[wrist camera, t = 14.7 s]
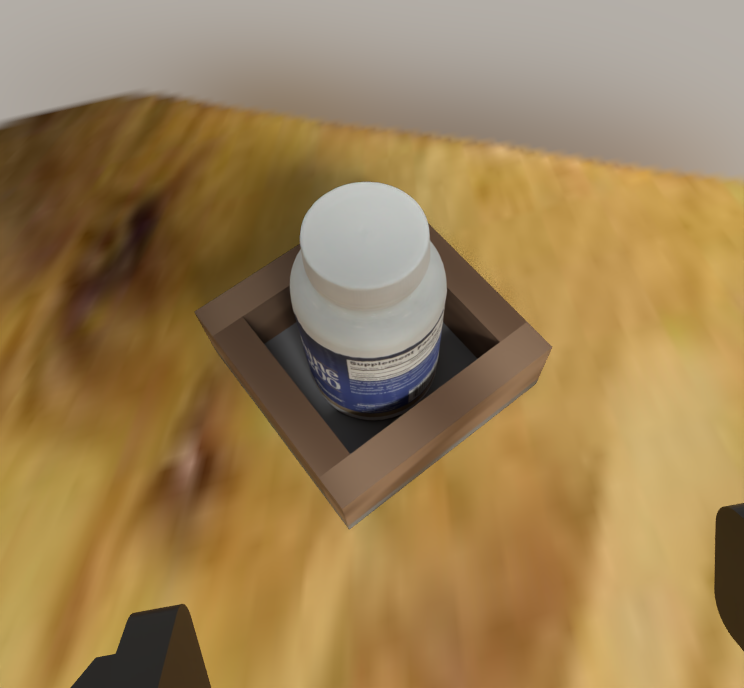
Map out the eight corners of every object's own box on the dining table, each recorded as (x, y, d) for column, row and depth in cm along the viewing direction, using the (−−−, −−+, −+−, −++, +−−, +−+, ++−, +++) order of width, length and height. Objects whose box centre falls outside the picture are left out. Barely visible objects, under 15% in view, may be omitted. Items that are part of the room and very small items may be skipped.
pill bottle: (298, 327, 31) (259, 184, 22) (415, 297, 31) (422, 146, 22) (328, 439, 28) (296, 330, 20) (453, 405, 29) (477, 283, 20)
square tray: (349, 529, 27) (342, 508, 24) (215, 350, 31) (194, 311, 28) (536, 383, 30) (552, 347, 26) (391, 233, 33) (390, 185, 30)
